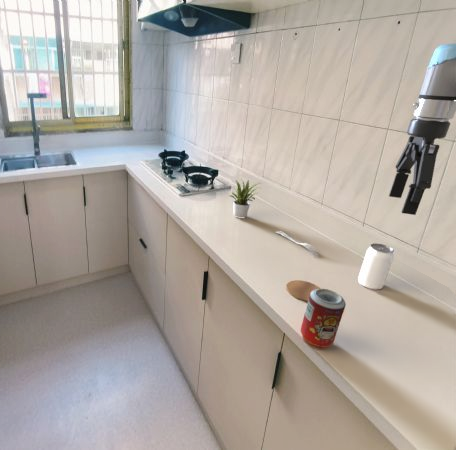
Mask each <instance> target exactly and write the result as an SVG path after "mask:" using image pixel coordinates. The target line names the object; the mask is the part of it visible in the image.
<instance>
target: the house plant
mask: <svg viewBox="0 0 456 450" xmlns="http://www.w3.org/2000/svg"><path fill="white" fill-rule="evenodd" d="M240 180H241V182H242V186H241V184H240V183H239V181H238V180H235V182H236V186H237V188H235V187H233V188H234V190H235V192H236V193H234V192H233V191H229V192H230V193H231V194H232V195H228V197H231V198H233V199H234V200H233V201H232V206H233V207H232V209H233V210H232V211H233V216H234V215H235V216H238V217H246V218H247V215H248V213H249V209H250V206H251V203H250V202H252V203H254V201H255V200H256V199H255V197H254V196H255V195H257V192H254V191H256V190H257V189H262V188H261V187H259V186H258V185H260V184H261V182H257V183H254V184H253V185H251V184H250V181H249V180H247V181H246V183H245V182H244V180H243V179H242V178H240ZM227 184H228V185H231V186H232V184H231V183H228V182H227ZM256 186H258V187H256Z"/></svg>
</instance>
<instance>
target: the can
mask: <svg viewBox="0 0 456 450" xmlns="http://www.w3.org/2000/svg"><path fill="white" fill-rule="evenodd" d="M394 253H395V250H394V248H392V247H390V246H388V245H386V244H382V243H377V242H376V243H375V242H374V243H371V244H370V246H369V247H368V248H367V250H366V252H365V255H364V259H363V263H362V264H361V268H360V271H359V274H358V277H357V281H358V283H359V284H360V285H361V286H362V287H364V288H366V289H368V290H373V291H377V290H381V289H382V288H383V287H384V285H385V282H386V279H387V277H388V274H389V271H390V269H391V265H392V263H393V260H394V257H395V255H394Z"/></svg>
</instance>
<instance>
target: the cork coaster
mask: <svg viewBox="0 0 456 450" xmlns="http://www.w3.org/2000/svg"><path fill="white" fill-rule="evenodd" d="M285 289H286V292H287V293H288V294H289V295H291V296H292V297H293V298H295V299H297V300H299V301H303V302H307V303H308V299H309V296H310V293H311V292H312V291H313V290H316V289H322V288H321V287H320V286H319V285H316V284H315V283H312V282H309V281H307V280H301V279H300V280H298V279H296V280H291V281H288V282H287V283H286V286H285Z"/></svg>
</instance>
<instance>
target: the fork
mask: <svg viewBox="0 0 456 450" xmlns="http://www.w3.org/2000/svg"><path fill="white" fill-rule="evenodd" d="M275 234H278V235H280V236H283V237H285V238H286V239H288V240H290V241H292V242H293V243H295V244H297V245H301V246H303V247H305V248H306V250H308V251H309V253H310V254H311V255H312V256H313V257H314V258H318V257H320V256H319V254H318V253H317V251H316V250H315V248H314V247H313V245H312V244H310V243H307V242H304V243H301V242H298V241H296V240H295V239H294V238H292V237H291V236H289V235H288V234H287V233H285V232H283V231H281V230H276V231H275Z"/></svg>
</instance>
